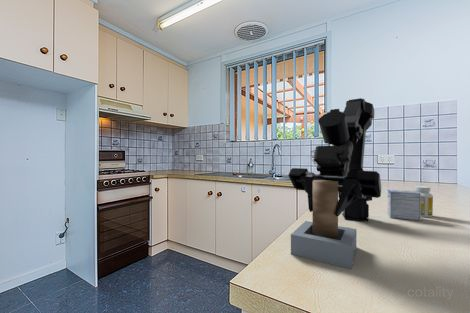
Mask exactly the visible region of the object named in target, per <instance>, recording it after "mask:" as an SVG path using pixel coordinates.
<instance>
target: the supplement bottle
mask: <svg viewBox="0 0 470 313" xmlns="http://www.w3.org/2000/svg"><path fill="white" fill-rule="evenodd" d="M414 191H417V192H419V193H421V218H432V217H433V212H434V210H433V209H434V208H433V206H434V205H433V204H434V203H433V202H434V195H433V194H432V193H430V192H431V187H430V186H424V185H416V186H414Z"/></svg>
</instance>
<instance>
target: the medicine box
mask: <svg viewBox="0 0 470 313" xmlns="http://www.w3.org/2000/svg"><path fill="white" fill-rule="evenodd" d="M387 215H388V216H389V218H390V219H400V220H411V221H421V219H422V217H421V193H419V192H417V191H415V190H409V189H408V190H407V189H406V190H405V189H387Z"/></svg>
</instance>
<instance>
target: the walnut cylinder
mask: <svg viewBox="0 0 470 313" xmlns="http://www.w3.org/2000/svg"><path fill="white" fill-rule="evenodd" d="M338 200H339V194H338V181H332V180H313V211H312V222H313V235H315V236H320V237H325V238H331V239H336V240H338V226H339V216H336V207H337V203H338Z"/></svg>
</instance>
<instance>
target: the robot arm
mask: <svg viewBox="0 0 470 313" xmlns="http://www.w3.org/2000/svg"><path fill="white" fill-rule="evenodd" d="M373 119H375V107H374V104H373V103H371V102H367V101H366V100H365V98H362V97H361V98H354V99H353V98H352V99H348V100H347V101H346V102H345V107H344V110H343V112H342V111H340V108H334V109H333V108H332V109H330V111H329V112H327V113H325V114H323V115H321V116H320V117H319V118H318V125H319V128H320V132H321V135H322V139H323V141H324V144H328V145H317V146H315V151H314V154H313V161H314V162H315V163H316V164H317V165H316V171H317V172H319V174H318V173H314V172H312V171H309V170H308V168H306V167H305V168H302V167H300V168H299V167H292V168H291V169H290V170H289V173H288V174H287V175H288V178H289V180H290V182H291V183H292V184H291V185H292V186H293V188H294V189H296V190H298V191H305V193H306V194H307V203H308V211H309V212H310V213H313V180H332V181H338V203H337V207H336V216H338V217H340V215H342V217H343V219H344V220H353V221H365V222H366V221H367V222H369V217H370V216H369V214H370V213H369V211H370V206H369V204H368V202H369V201H370V202H371V201H373V198H374V199H376V198H377V199H378V198H381V196H382V183H381V174H380V173H379V172H378V171H377V170H364V158H365V145H366V132H367V131H368V129H369V128H370V127H371V126H372V124H373Z"/></svg>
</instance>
